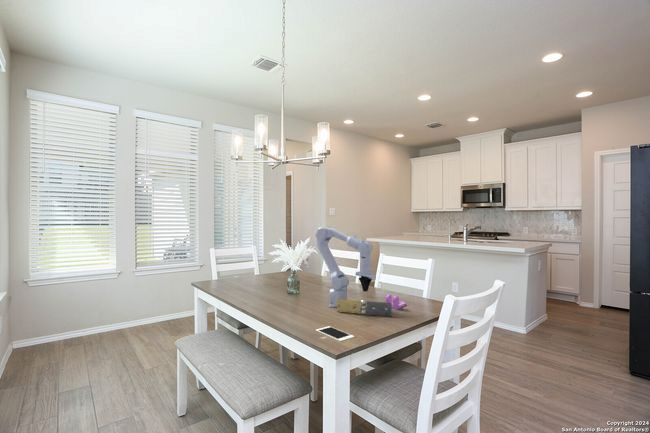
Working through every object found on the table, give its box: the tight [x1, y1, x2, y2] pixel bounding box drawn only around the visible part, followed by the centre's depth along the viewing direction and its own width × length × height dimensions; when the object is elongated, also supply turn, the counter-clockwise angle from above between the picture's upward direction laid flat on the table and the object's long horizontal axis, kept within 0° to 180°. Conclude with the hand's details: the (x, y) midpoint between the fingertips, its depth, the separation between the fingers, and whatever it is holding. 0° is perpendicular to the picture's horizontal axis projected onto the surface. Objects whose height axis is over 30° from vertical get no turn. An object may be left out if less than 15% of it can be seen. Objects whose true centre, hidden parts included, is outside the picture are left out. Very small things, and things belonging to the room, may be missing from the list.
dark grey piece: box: [360, 299, 393, 317], centre depth 157 cm, size 15×2×7 cm, turn 77°
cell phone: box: [315, 325, 355, 342], centre depth 133 cm, size 8×16×1 cm, turn 39°
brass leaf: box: [336, 298, 367, 315], centre depth 161 cm, size 15×2×6 cm, turn 70°
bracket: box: [385, 293, 406, 311], centre depth 173 cm, size 13×6×7 cm, turn 139°
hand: (365, 291), depth 168 cm, fingers closed
